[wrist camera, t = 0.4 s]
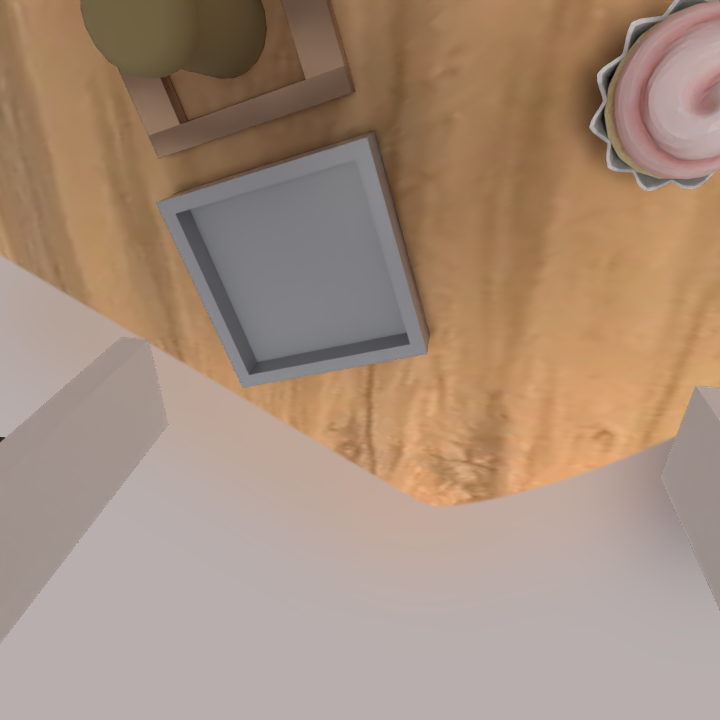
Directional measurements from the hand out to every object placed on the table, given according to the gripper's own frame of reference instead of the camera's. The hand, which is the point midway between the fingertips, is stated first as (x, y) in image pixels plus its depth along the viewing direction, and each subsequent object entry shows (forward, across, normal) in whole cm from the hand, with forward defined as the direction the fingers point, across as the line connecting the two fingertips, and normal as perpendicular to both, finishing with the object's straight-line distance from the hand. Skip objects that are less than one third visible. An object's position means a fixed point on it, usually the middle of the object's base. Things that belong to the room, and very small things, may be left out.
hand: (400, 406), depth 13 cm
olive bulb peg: (+26, -14, +9) cm, 31 cm away
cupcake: (+26, +12, +5) cm, 29 cm away
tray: (+26, -9, -7) cm, 28 cm away
